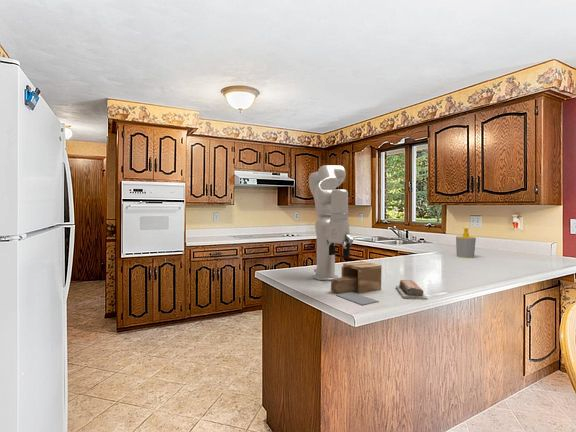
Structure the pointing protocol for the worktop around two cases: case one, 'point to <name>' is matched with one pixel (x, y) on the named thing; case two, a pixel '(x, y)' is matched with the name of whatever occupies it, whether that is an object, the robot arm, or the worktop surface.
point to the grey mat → (357, 298)
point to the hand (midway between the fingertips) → (338, 256)
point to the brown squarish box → (364, 275)
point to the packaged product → (410, 290)
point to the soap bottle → (465, 245)
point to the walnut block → (344, 284)
